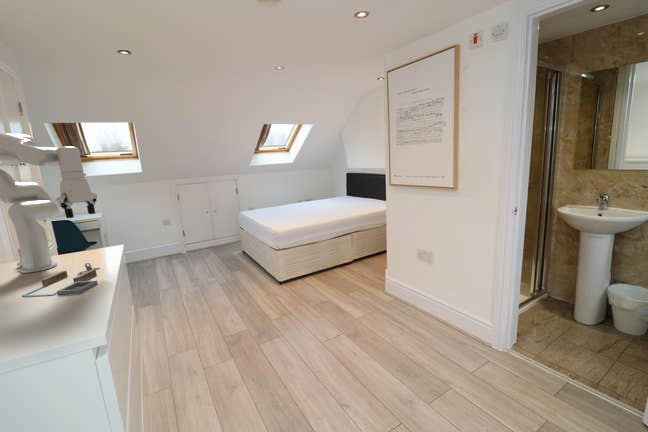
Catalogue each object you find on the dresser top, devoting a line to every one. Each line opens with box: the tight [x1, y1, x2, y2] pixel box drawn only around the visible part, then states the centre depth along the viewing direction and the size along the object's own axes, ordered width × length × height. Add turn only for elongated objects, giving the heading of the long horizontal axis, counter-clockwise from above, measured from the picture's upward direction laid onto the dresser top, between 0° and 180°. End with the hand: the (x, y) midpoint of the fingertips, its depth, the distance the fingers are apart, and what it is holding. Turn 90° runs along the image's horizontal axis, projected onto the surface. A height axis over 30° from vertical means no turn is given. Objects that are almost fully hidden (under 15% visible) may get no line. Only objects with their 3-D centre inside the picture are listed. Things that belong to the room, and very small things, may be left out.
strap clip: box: [77, 262, 101, 276], centre depth 133 cm, size 8×3×4 cm, turn 165°
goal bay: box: [21, 285, 57, 298], centre depth 113 cm, size 12×9×1 cm
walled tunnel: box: [41, 268, 97, 287], centre depth 123 cm, size 14×10×2 cm
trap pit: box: [56, 280, 98, 296], centre depth 113 cm, size 8×9×2 cm
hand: (81, 215), depth 131 cm, fingers open, 9 cm apart
